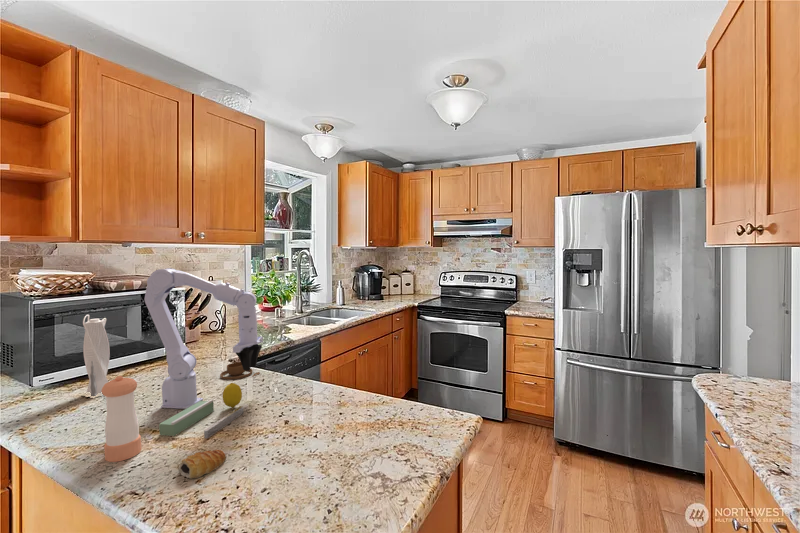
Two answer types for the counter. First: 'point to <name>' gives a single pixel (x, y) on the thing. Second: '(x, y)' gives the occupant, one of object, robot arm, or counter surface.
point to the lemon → (232, 395)
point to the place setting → (236, 371)
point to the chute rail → (223, 422)
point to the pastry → (201, 463)
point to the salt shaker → (121, 420)
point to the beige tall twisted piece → (96, 354)
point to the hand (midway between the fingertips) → (249, 368)
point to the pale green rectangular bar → (186, 418)
